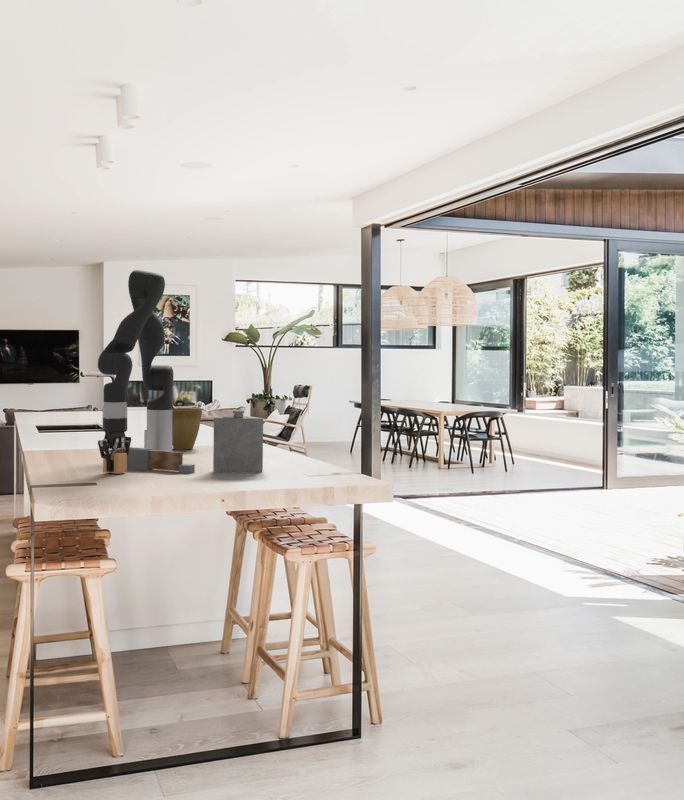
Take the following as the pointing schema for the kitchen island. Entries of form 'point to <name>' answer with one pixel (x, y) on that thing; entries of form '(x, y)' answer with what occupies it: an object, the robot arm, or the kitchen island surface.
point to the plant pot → (185, 427)
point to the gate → (165, 460)
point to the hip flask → (238, 444)
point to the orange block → (117, 463)
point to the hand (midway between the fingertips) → (114, 470)
